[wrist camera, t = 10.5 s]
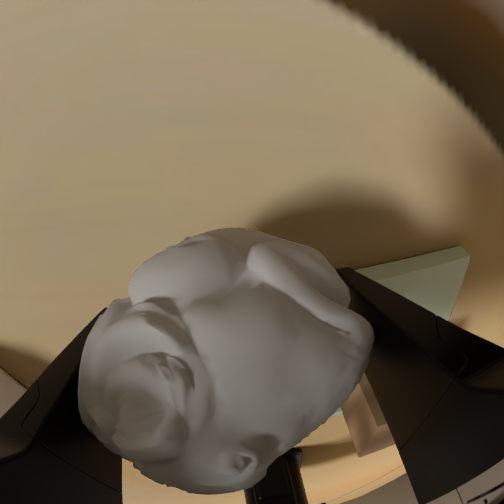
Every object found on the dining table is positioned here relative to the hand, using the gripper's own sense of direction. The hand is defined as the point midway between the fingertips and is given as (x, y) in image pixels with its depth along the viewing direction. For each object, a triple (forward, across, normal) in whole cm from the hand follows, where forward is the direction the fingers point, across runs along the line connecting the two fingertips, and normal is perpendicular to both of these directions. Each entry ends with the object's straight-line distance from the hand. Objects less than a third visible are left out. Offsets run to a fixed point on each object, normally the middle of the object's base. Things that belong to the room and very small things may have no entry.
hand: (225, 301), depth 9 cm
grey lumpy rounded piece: (+2, 0, 0) cm, 2 cm away
